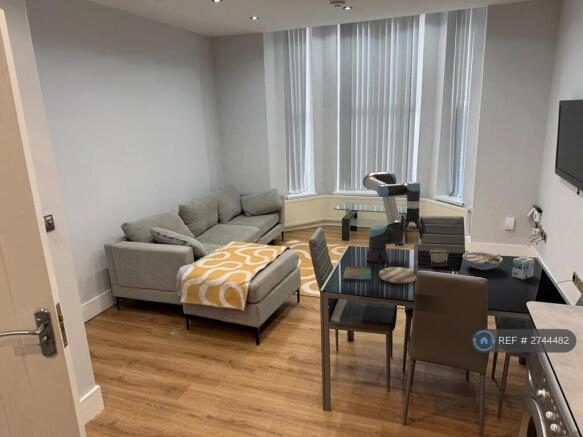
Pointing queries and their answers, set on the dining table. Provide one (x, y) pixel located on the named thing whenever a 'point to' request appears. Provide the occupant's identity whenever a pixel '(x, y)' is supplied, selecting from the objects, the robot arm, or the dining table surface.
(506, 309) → the dining table surface
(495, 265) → the ramen bowl
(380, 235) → the robot arm
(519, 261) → the light bulb box
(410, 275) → the turntable
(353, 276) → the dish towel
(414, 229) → the ceramic cup
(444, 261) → the food container
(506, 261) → the dining table surface
